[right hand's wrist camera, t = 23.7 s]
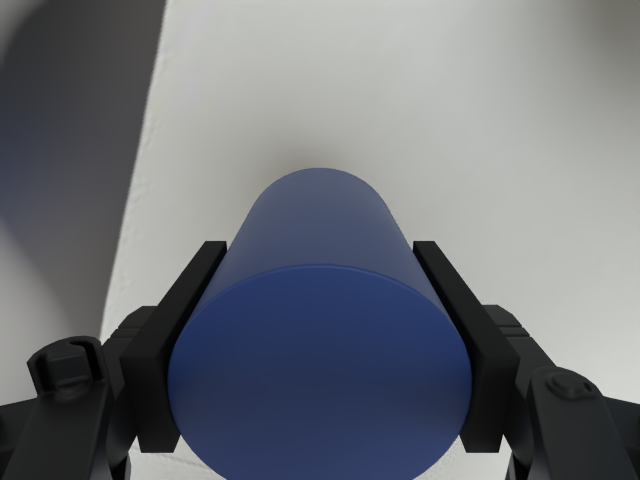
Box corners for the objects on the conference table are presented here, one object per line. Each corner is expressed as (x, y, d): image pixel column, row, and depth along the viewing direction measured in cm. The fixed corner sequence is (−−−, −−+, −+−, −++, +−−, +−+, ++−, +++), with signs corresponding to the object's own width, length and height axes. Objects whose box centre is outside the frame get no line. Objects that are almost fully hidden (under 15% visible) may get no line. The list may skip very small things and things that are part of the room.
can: (229, 284, 18) (143, 470, 9) (267, 145, 16) (201, 219, 7) (363, 322, 19) (401, 528, 10) (419, 196, 17) (531, 320, 8)
